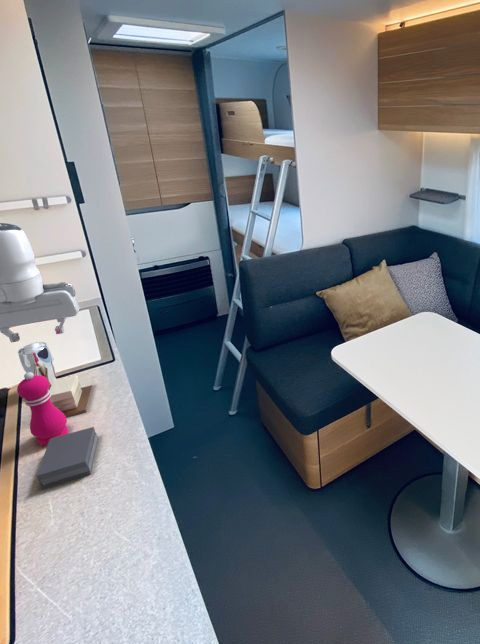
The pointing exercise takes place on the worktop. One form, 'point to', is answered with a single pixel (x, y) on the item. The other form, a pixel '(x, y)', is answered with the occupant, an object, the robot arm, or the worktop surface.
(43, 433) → the pepper mill
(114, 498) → the worktop surface
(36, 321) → the robot arm
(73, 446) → the grey pile
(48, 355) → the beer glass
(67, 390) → the ivory book
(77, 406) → the ivory pile
